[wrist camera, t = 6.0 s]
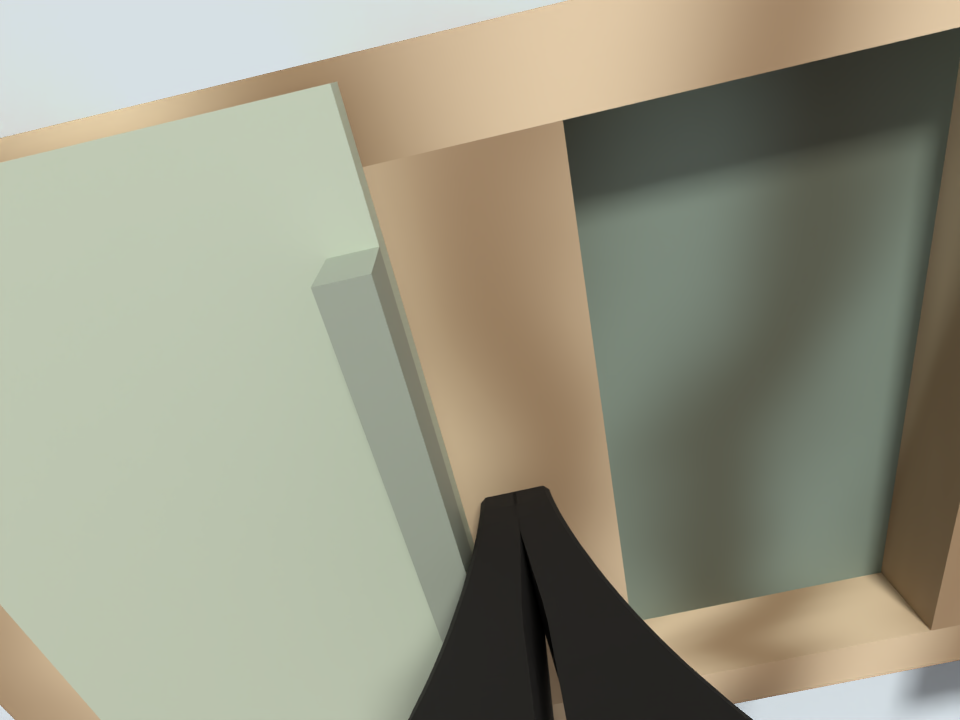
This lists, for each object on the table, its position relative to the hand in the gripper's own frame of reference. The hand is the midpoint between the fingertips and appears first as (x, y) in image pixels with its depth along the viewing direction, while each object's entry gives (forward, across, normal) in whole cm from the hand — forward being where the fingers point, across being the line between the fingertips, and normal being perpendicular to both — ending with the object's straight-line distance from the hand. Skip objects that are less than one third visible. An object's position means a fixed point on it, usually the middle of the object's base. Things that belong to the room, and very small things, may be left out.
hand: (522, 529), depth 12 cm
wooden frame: (+3, +1, 0) cm, 3 cm away
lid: (0, +6, 0) cm, 6 cm away
